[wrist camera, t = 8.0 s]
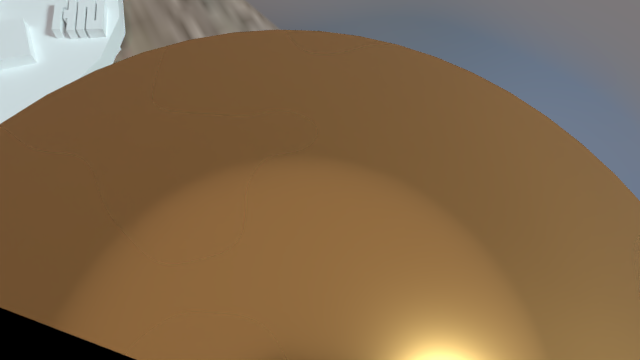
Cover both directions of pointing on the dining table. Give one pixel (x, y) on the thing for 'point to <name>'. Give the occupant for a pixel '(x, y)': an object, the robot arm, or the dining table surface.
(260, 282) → the pin
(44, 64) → the giant coin
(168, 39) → the dining table surface
